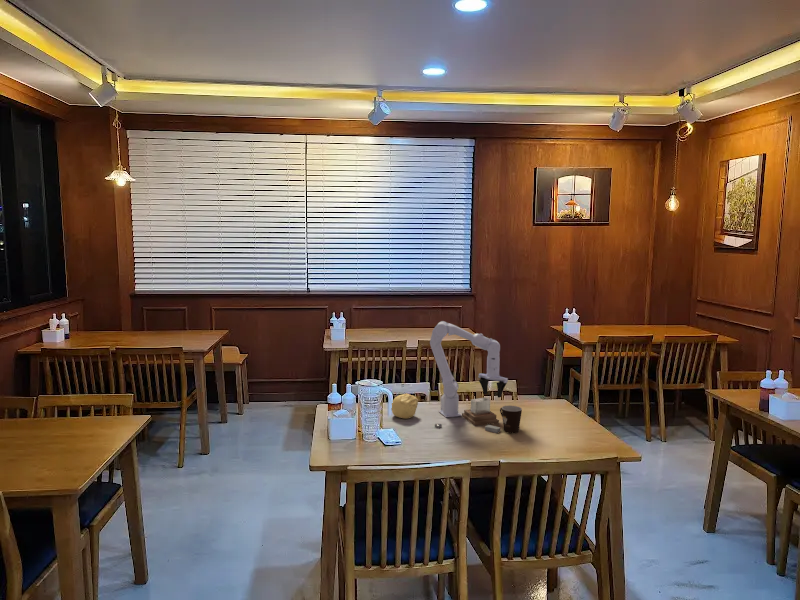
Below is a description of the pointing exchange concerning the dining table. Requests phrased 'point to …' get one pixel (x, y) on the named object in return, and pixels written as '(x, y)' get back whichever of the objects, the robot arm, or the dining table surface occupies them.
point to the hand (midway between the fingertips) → (492, 395)
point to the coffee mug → (511, 418)
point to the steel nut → (438, 425)
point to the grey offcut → (492, 428)
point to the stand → (480, 418)
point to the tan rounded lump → (404, 406)
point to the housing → (480, 406)
